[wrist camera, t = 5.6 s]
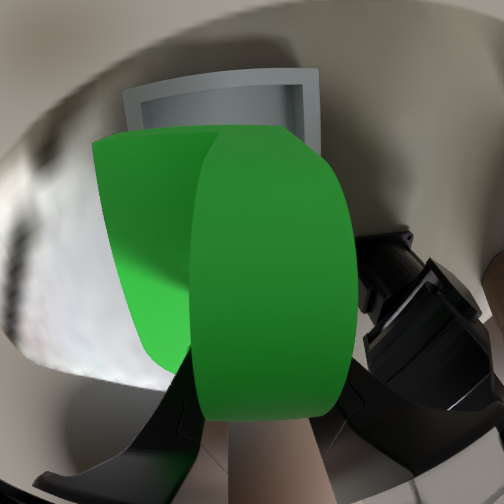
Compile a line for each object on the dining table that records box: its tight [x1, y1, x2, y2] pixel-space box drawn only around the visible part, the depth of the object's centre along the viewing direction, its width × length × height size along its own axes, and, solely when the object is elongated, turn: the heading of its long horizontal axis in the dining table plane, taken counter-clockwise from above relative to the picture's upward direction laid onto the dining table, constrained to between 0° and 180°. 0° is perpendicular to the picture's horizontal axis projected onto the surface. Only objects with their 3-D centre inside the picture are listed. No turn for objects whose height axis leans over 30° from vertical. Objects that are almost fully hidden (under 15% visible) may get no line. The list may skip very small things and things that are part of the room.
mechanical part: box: [92, 125, 358, 421], centre depth 9 cm, size 12×6×8 cm, turn 178°
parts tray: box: [122, 68, 321, 156], centre depth 18 cm, size 11×17×3 cm, turn 4°
